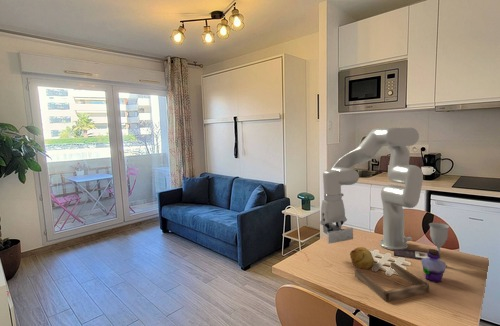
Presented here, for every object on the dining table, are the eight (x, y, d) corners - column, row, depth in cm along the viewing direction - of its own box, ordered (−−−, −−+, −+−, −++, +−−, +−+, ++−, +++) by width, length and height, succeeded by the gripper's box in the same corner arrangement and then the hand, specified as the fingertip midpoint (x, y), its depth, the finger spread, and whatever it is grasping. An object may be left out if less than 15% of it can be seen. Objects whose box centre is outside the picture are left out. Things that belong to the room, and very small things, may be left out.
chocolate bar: (394, 247, 138) (437, 253, 129) (394, 249, 138) (437, 255, 129) (393, 254, 130) (439, 261, 121) (393, 256, 130) (439, 263, 121)
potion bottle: (416, 278, 110) (416, 250, 108) (425, 271, 115) (425, 243, 114) (441, 287, 103) (442, 257, 102) (449, 279, 108) (450, 250, 107)
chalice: (449, 264, 119) (450, 224, 117) (447, 271, 114) (448, 229, 112) (429, 260, 124) (430, 221, 122) (426, 265, 119) (427, 225, 117)
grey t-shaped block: (337, 229, 134) (336, 219, 134) (353, 239, 122) (352, 228, 121) (314, 233, 132) (314, 223, 131) (328, 243, 119) (328, 232, 118)
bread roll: (352, 256, 132) (352, 240, 131) (374, 259, 128) (374, 242, 127) (349, 268, 121) (349, 251, 120) (373, 272, 116) (373, 254, 116)
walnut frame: (393, 268, 118) (393, 262, 118) (429, 292, 101) (429, 284, 100) (355, 276, 114) (355, 269, 114) (385, 301, 97) (385, 293, 96)
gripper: (343, 193, 129) (345, 230, 132) (312, 197, 126) (314, 236, 128) (353, 196, 122) (354, 236, 124) (320, 201, 118) (322, 242, 120)
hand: (334, 235), depth 126 cm, fingers closed on grey t-shaped block, 3 cm apart
